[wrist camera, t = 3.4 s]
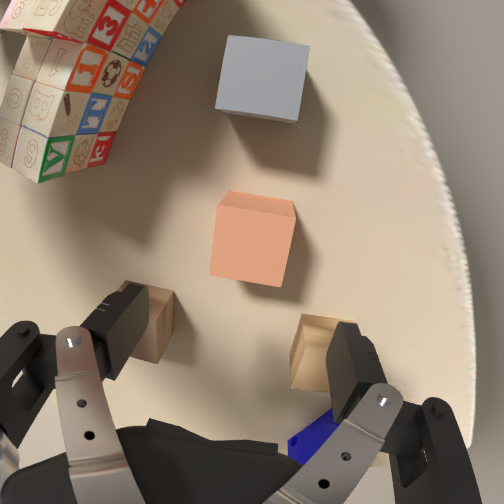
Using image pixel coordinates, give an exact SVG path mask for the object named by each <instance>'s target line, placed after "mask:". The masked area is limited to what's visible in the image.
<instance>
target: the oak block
mask: <svg viewBox="0 0 504 504" xmlns="http://www.w3.org/2000/svg"><path fill="white" fill-rule="evenodd" d="M339 321H342V322H349V323H353V322H352V321H350V320H342V319H335V318H328V317H321V316H314V315H307V314H302V315H301V318H300V322H299V325H298V328H297V332H296V335H295V338H294V341H293V344H292V348H291V351H290V380H291V389H297V390H306V391H317V392H330V388H329V381H328V375H327V368H326V354H327V350H328V347H329V345H330V342H331V339H332V337H333V334H334V331H335V329H336V326H337V324H338V322H339Z"/></svg>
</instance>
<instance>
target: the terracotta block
mask: <svg viewBox="0 0 504 504" xmlns="http://www.w3.org/2000/svg"><path fill="white" fill-rule="evenodd" d="M295 222H296V215H295V211H294V207H293V203H292V201H288V200H282V199H277V198H271V197H265V196H259V195H253V194H247V193H241V192H235V191H229V192H228V193H227V194H226V195H225V196H224V198H223V199H222V200H221V201H220V203H219V204H218V206H217V214H216V223H215V231H214V240H213V248H212V258H211V267H210V275H212V276H218V277H223V278H229V279H235V280H240V281H246V282H252V283H258V284H264V285H269V286H275V287H281V286H282V282H283V277H284V273H285V268H286V264H287V259H288V255H289V250H290V245H291V241H292V236H293V231H294V226H295Z"/></svg>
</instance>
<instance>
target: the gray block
mask: <svg viewBox="0 0 504 504" xmlns="http://www.w3.org/2000/svg"><path fill="white" fill-rule="evenodd" d="M309 49H310V46H306V45H301V44H296V43H290V42H284V41H277V40H270V39H263V38H254V37H244V36H233V35H228V38H227V43H226V48H225V53H224V58H223V64H222V69H221V75H220V80H219V86H218V92H217V98H216V104H215V109H217V110H219V111H222V112H224V113H227V114H232V115H240V116H247V117H254V118H261V119H267V120H273V121H279V122H285V123H290V124H294V123H295V122H297V121H298V115H299V110H300V104H301V98H302V92H303V86H304V80H305V74H306V68H307V62H308V56H309Z"/></svg>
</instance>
